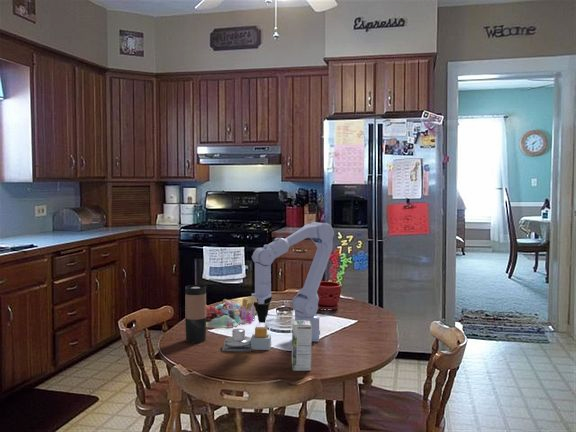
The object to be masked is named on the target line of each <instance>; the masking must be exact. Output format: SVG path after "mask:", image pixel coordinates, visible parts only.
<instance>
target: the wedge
mask: <svg viewBox="0 0 576 432" xmlns="http://www.w3.org/2000/svg"><path fill="white" fill-rule="evenodd" d="M254 334H255V338H267V334H268V327H267V326H265V327H264V326H260V327H259V326H256V327H255V328H254Z"/></svg>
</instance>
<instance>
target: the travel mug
mask: <svg viewBox="0 0 576 432" xmlns="http://www.w3.org/2000/svg"><path fill="white" fill-rule="evenodd" d="M184 289H185V291H184V293H185V294H184V295H185V296H184V297H185V298H184V300H185V301H184V303H185V304H184V305H185V306H184V311H185V312H184V313H185V317H184V318H185V323H184V324H185V341H186V343H190V344H198V343H200V344H201V343H203V342H205V341H206V340H207V337H206V336H207V327H206V305H207V286H206V285H204V284H190V285H186V286H185V288H184Z"/></svg>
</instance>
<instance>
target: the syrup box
mask: <svg viewBox="0 0 576 432" xmlns="http://www.w3.org/2000/svg"><path fill="white" fill-rule="evenodd" d="M291 332H292V335H291V367H292V371H293V372H300V371H301V372H302V371H303V372H305V371H307V372H308V371H312V344H313V341H312V325H311V323H310V321H305V320H296V321H295V320H292V331H291Z"/></svg>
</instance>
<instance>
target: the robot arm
mask: <svg viewBox="0 0 576 432" xmlns="http://www.w3.org/2000/svg"><path fill="white" fill-rule="evenodd" d="M334 236H335V231H334V229H333V227H332V225H331V224H330V223H326V222H316V221H311V222H309V223H306V224H304V225H303V226H302V227H301V228H299V229H298V230H297V231H294V232H293V233H292V234H290V235H288V236H287V237H285V238H283V237H276V238H274V241H272V242H269V243H268V244H264V245H263V247H257V248H255V250H254V251H253V253H252V255H251V259H252V261H253V263H254V293H251V297H254V298H255V299H256V301H254V302H253V306H254V310H255V311H256V315H257V320H258V323H262V324H264V323H266V319H267V317H268V315H269V307H270V305H271V301H272V300H273V297H272V273H271V272H272V264H273V262H274V260H275V259H277V258H279V257H281V256H282V255H284V254H286V253H287V252H289V250H290V247H292V246H294V245H295V244H297V243H300V242H302V241H303V240H306V239H310V240H311V241H312V242H313V243H314V245H315V247H316V251H315V254H314V257H313V259H312V262H311V265H310V268H309V270H308V273H307V276H306V278H305V281H304V284H303V287H302V288H301V289H299V290H298V291H297V293H296V295H295V296H294V297H293V299H292V300H291V308H292V309H293V311H294V321H296V320H305V321H310V323H311V325H312V342H320V336H321V330H320V315H316V314H317V313H318V311H319V309H318V301H319V297H318V294H317V291H318V288H319V285H320V282H321V281H322V279H323V277H324V274H325V271H326V268H327V266H328V263H329V259H330V256H331V255H332V252H333V249H334V247H333V246H334V245H333V244H334V243H333V242H334V240H333V239H334Z"/></svg>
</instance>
